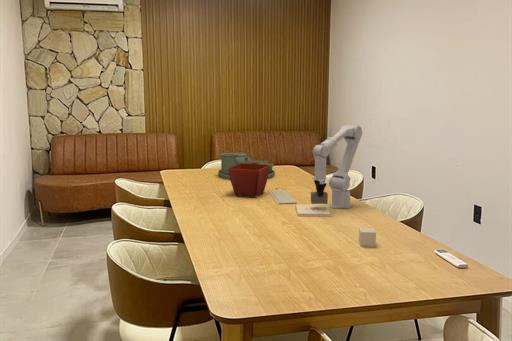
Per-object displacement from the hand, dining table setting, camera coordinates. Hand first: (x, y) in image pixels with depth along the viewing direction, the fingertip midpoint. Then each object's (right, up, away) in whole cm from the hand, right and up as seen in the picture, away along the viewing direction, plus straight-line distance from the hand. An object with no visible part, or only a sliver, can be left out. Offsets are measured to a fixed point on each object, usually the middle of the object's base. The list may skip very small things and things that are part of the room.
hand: (319, 195), depth 248 cm
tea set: (-39, +8, +97) cm, 104 cm away
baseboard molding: (-18, -4, +31) cm, 36 cm away
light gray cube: (+13, -18, -49) cm, 53 cm away
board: (-4, -8, +1) cm, 9 cm away
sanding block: (0, -4, +1) cm, 4 cm away
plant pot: (-36, -2, +38) cm, 53 cm away
